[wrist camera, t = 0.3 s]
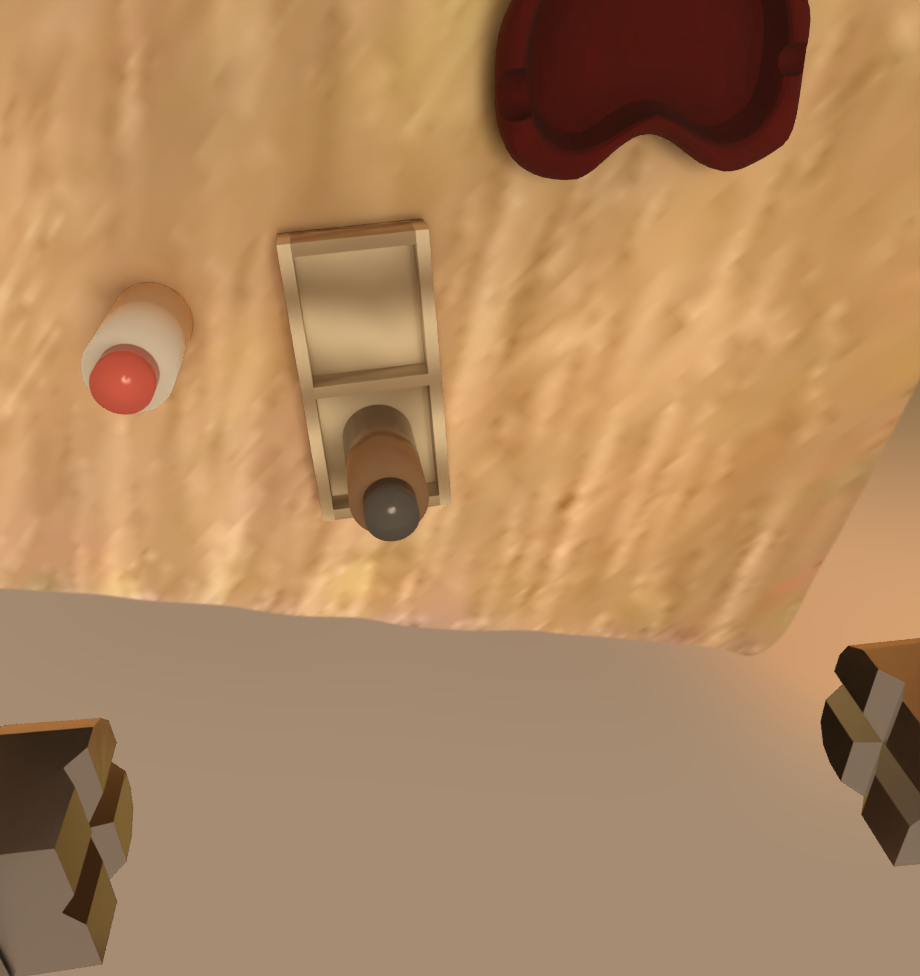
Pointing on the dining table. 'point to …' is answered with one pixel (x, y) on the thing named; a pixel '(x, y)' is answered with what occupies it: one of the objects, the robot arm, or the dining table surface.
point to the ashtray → (648, 79)
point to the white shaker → (138, 349)
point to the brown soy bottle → (384, 473)
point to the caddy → (365, 343)
